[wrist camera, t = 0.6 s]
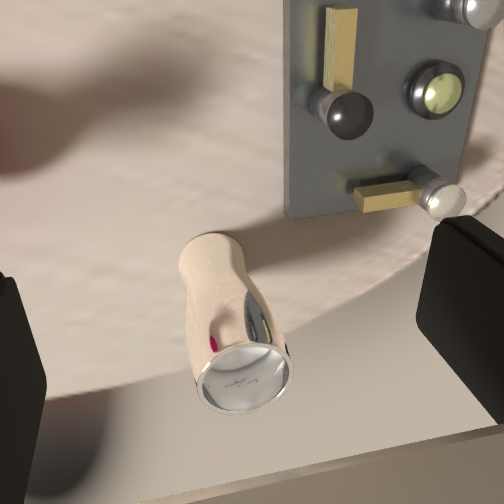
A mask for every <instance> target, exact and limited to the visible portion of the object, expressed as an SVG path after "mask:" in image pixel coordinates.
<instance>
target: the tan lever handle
mask: <svg viewBox="0 0 504 504" xmlns="http://www.w3.org/2000/svg"><path fill="white" fill-rule="evenodd" d="M357 14H358V8H353V7H348V6H338V7H326V29H325V53H324V78H323V83H321V84H319V85H318V86H317V87H316V88H315V89H314V90H313V92H312V94H311V96H310V100H309V107H310V111H311V113H312V114H313V116H314V117H316V118H317V119H318V120H319V121H320V122H322V123H323V124H324V125H325V126H327V127H328V128H329V129H330V131H331V132H332V133H333V134H334V135H335V136H337V137H338V138H340V139H342V140H354V139H357V138H359V137H360V136H362V135H363V134H364V133H365V132H366V131H367V130H368V129H369V127H370V126H371V123H372V121H373V117H374V109H373V105H372V103H371V101H370V100H369V99H368V98H367V97H366V96H364V95H362V94H360V93H358V92H354V91H352V82H353V68H354V55H355V41H356V28H357Z"/></svg>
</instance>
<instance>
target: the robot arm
mask: <svg viewBox="0 0 504 504" xmlns="http://www.w3.org/2000/svg"><path fill="white" fill-rule="evenodd" d="M416 322H417V325H418V328H419V329H420V331H421V332H422V333H423V334H424V336H425V337H426V338H427V339H428V340H429V341H430V343H431V344H432V345H433V346H434V348H435V349H436V350H437V351H438V352H439V354H440V355H441V356H442V357H443V358H444V359H445V361H446V362H447V363H448V365H449V366H450V367H451V368H452V369H453V371H454V372H455V373H456V374H457V375H458V377H459V378H460V379H461V380H462V381H463V383H464V384H465V385H466V386H467V387H468V389H469V390H470V391H471V392H472V393H473V395H474V396H475V397H476V398H477V400H478V401H479V402H480V403H481V404H482V406H483V407H484V408H485V409H486V410H487V411H488V413H489V414H490V415H491V416H492V418H493V419H494V420H495V421H496V423H497V424H498V425H495V426H490V427H485V428H480V429H475V430H471V431H466V432H461V433H456V434H452V435H447V436H442V437H438V438H433V439H428V440H424V441H419V442H414V443H409V444H405V445H401V446H395V447H391V448H387V449H382V450H377V451H372V452H367V453H363V454H359V455H354V456H349V457H344V458H340V459H336V460H331V461H326V462H321V463H317V464H312V465H307V466H303V467H298V468H294V469H289V470H284V471H280V472H275V473H272V474H266V475H262V476H258V477H253V478H248V479H244V480H239V481H235V482H230V483H226V484H222V485H217V486H212V487H208V488H203V489H199V490H194V491H190V492H185V493H181V494H176V495H172V496H167V497H163V498H158V499H154V500H149V501H145V502H140V503H136V504H504V238H502V237H501V236H499V235H498V234H497V233H495V232H494V231H492V230H491V229H489V228H488V227H486V226H485V225H483V224H482V223H481V222H479V221H478V220H476V219H475V218H473V217H472V216H469V215H465V216H456V217H448V218H444V219H443V220H442V221H441V222H440V224H439V225H437V226H436V227H435V229H434V232H433V236H432V241H431V246H430V250H429V255H428V260H427V264H426V270H425V274H424V279H423V284H422V288H421V293H420V298H419V302H418V307H417V312H416ZM46 390H47V382H46V375H45V372H44V369H43V366H42V362H41V359H40V356H39V353H38V350H37V347H36V344H35V341H34V338H33V335H32V332H31V328H30V325H29V322H28V319H27V316H26V313H25V310H24V307H23V304H22V301H21V297H20V294H19V291H18V288H17V285H16V282H15V280H14V279H13V278H12V277H4V275H3V274H2V272H0V504H24V499H25V494H26V489H27V484H28V479H29V474H30V469H31V464H32V460H33V454H34V450H35V445H36V440H37V435H38V430H39V425H40V420H41V415H42V411H43V406H44V401H45V396H46Z"/></svg>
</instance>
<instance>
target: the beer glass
mask: <svg viewBox="0 0 504 504" xmlns="http://www.w3.org/2000/svg"><path fill="white" fill-rule="evenodd" d="M178 266H179V271H180V274H181V276H182V278H183V280H184V282H185V284H186V286H187V290H188V295H187V306H186V317H185V337H186V345H187V352H188V357H189V361H190V365H191V369H192V372H193V376H194V379H195V383H196V386H197V393H198V396H199V398H200V400H201V401H202V403H204V405H205V406H206V407H208V408H209V409H211V410H213V411H215V412H217V413H220V414H225V415H245V414H250V413H253V412H257V411H259V410H262V409H264V408H266V407H268V406H270V405H271V404H273V403H274V402H276V401H277V400H278V399H279V398H280V397H281V396H282V395H283V394H284V393H285V392H286V391H287V389H288V388H289V386H290V384H291V382H292V379H293V375H294V367H293V363H292V360H291V358H290V355H289V352H288V349H287V345H286V342H285V339H284V336H283V333H282V330H281V327H280V325H279V322H278V320H277V318H276V316H275V314H274V312H273V309H272V308H271V306H270V304H269V303H268V301H267V300H266V298H265V297H264V295H263V294H262V293H261V291H260V290H259V289H258V287H257V286H256V285H255V284H254V282H253V281H252V280H251V279H250V277H249V276H248V274H247V272H246V270H245V260H244V254H243V251H242V248H241V246H240V245H239V244H238V243H237V241H235V240H234V239H233V238H231V237H230V236H228V235H225V234H221V233H207V234H203V235H200V236H198V237H196V238H194V239H193V240H191V241H190V242H189V243H188V244H187V245H186V246H185V247H184V248H183V250H182V252H181V254H180V257H179V262H178Z"/></svg>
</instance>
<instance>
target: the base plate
mask: <svg viewBox="0 0 504 504" xmlns="http://www.w3.org/2000/svg"><path fill="white" fill-rule="evenodd" d="M338 6H348V7H353V8H358V14H357V28H356V41H355V55H354V68H353V82H352V91H354V92H358V93H360V94H362V95H364V96H366V97H367V98H368V99H369V100H370V101H371V103H372V105H373V109H374V117H373V121H372V123H371V126H370V127H369V129H368V130H367V131H366V132H365V133H364V134H363V135H362V136H360V137H359V138H357V139H354V140H342V139H340V138H338V137H337V136H335V135H334V134H333V133H332V132H331V131H330V129H329V128H328V127H327V126H325V125H324V124H323V123H322V122H320V121H319V120H318V119H317V118H316V117H314V116H313V114H312V113H311V111H310V107H309V100H310V96H311V94H312V92H313V90H314V89H315V88H316V87H317V86H318V85H319V84H321V83H323V78H324V53H325V29H326V7H338ZM487 34H488V29H486V30H481V29H475V28H472V27H470V26H468V25H463V24H457V23H452V22H446V21H441V20H438V19H436V18H435V17H434V15H433V14H432V12H431V8H430V0H283V53H284V213H285V214H286V216H287V218H288V219H289V220H293V219H300V218H307V217H314V216H320V215H327V214H334V213H341V212H347V211H354V210H360V209H359V208H358V207H357V206H356V205H355V204H354V203H353V199H354V188H356V187H363V186H371V185H378V184H385V183H392V182H399V181H404V180H405V178H406V176H407V175H408V174H409V173H410V172H411V171H412V170H413V169H415V168H417V167H421V166H425V167H428V168H430V169H432V170H433V171H435V172H436V173H438V174H439V175H440V176H442V177H443V178H445V179H446V180H448V181H449V182H451V183H453V184H456V180H457V176H458V171H459V166H460V161H461V157H462V152H463V147H464V143H465V138H466V133H467V128H468V124H469V119H470V114H471V109H472V105H473V100H474V95H475V91H476V86H477V81H478V76H479V72H480V67H481V62H482V57H483V53H484V48H485V43H486V39H487Z"/></svg>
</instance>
